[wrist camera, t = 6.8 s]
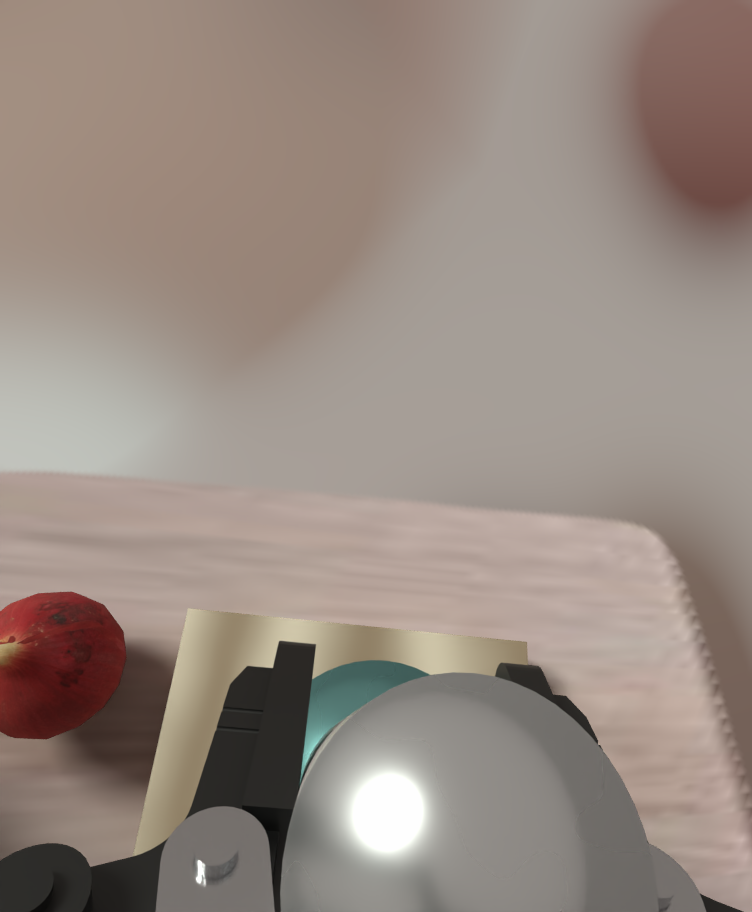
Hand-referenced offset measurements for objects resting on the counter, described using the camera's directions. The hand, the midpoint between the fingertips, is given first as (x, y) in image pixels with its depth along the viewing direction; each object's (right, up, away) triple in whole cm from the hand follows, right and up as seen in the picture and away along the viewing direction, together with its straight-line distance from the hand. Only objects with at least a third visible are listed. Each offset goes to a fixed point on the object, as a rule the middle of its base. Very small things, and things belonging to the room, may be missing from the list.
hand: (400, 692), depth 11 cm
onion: (-15, -6, +17) cm, 23 cm away
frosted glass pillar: (-1, -6, +7) cm, 10 cm away
